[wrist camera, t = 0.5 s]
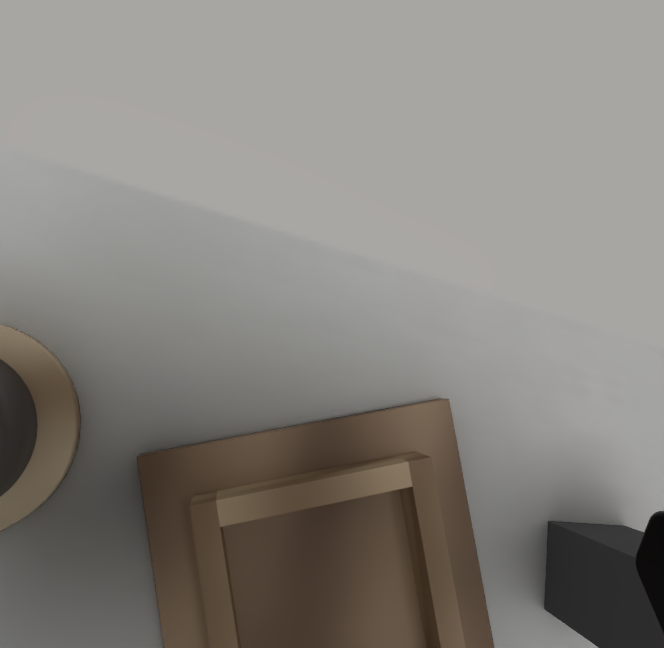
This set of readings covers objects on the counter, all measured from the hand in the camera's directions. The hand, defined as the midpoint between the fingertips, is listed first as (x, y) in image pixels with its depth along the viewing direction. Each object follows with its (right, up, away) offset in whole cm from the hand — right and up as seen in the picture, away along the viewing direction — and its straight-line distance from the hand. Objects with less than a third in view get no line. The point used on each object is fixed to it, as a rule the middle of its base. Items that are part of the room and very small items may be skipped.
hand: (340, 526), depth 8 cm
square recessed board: (0, -6, +13) cm, 15 cm away
